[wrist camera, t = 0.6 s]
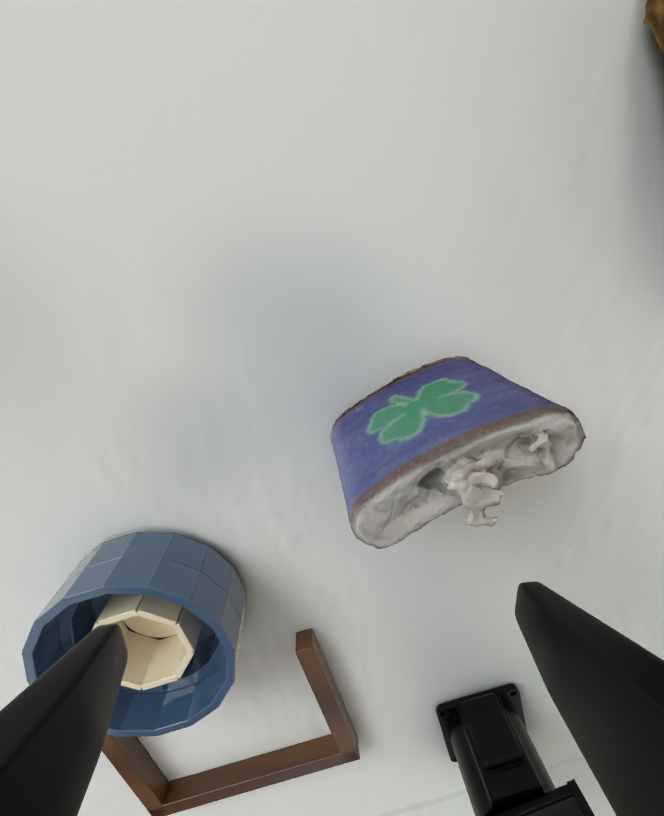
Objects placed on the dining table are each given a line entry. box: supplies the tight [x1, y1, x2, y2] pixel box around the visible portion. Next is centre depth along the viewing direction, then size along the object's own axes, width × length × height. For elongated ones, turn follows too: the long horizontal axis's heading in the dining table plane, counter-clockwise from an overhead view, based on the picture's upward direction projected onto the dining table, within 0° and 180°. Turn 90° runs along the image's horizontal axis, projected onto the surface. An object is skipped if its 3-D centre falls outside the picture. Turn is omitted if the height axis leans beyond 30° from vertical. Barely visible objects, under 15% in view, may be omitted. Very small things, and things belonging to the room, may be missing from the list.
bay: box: [102, 629, 360, 816], centre depth 28 cm, size 12×16×2 cm
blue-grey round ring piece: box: [22, 532, 246, 737], centre depth 23 cm, size 11×11×5 cm
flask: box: [331, 356, 586, 549], centre depth 17 cm, size 9×3×11 cm, turn 117°
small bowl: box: [92, 594, 203, 690], centre depth 23 cm, size 6×6×3 cm
